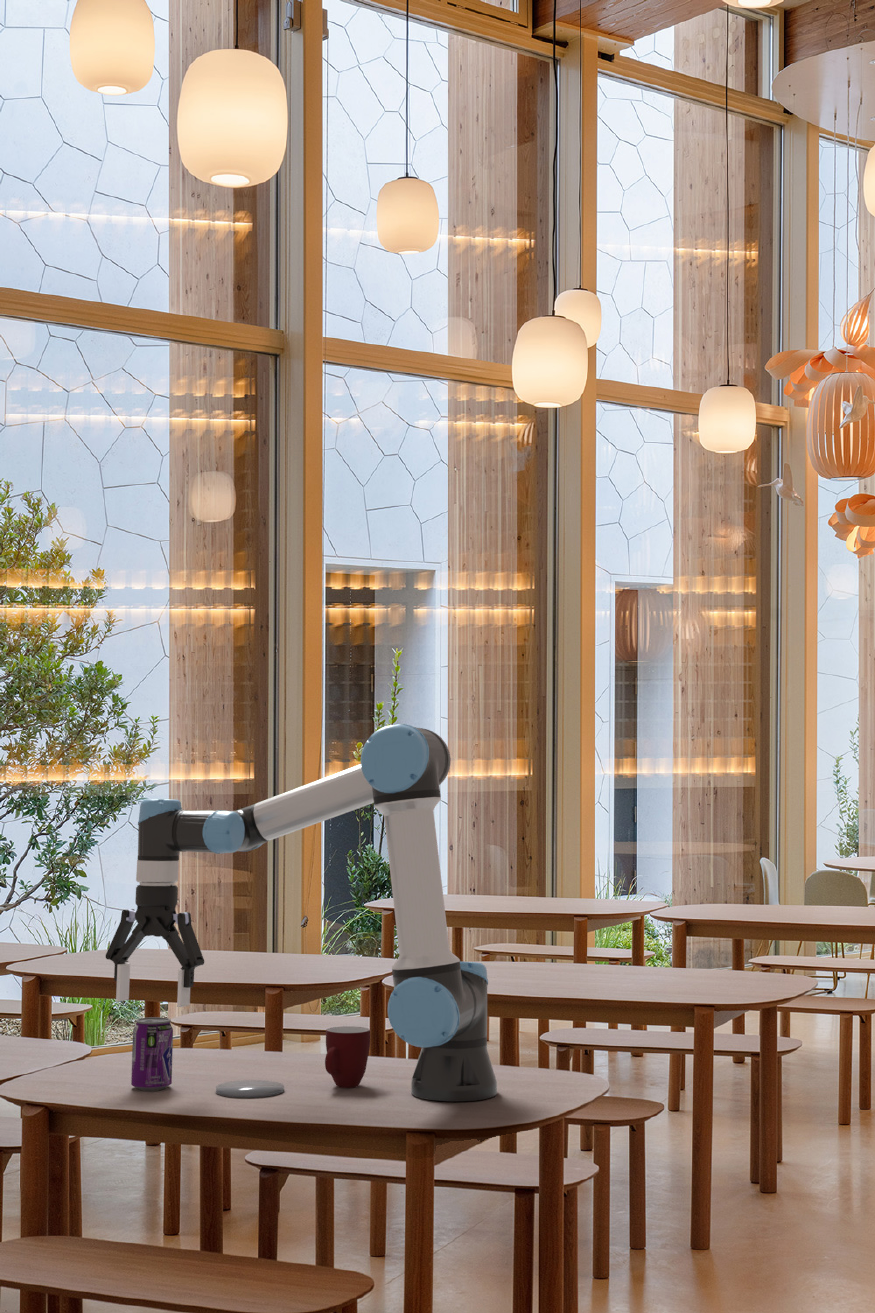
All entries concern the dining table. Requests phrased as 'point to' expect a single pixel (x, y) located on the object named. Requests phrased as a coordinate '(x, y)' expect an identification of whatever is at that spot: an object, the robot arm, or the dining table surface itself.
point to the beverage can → (152, 1054)
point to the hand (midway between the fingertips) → (152, 1003)
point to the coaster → (249, 1089)
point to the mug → (347, 1054)
